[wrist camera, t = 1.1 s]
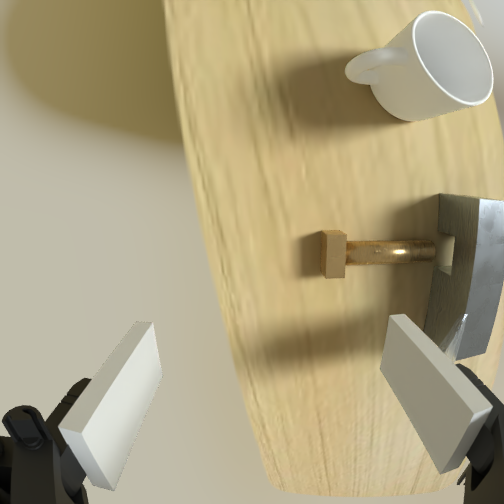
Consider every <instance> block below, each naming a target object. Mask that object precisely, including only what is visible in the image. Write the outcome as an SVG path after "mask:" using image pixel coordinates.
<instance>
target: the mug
mask: <svg viewBox="0 0 504 504" xmlns="http://www.w3.org/2000/svg"><path fill="white" fill-rule="evenodd" d="M368 69H369V70H368ZM345 74H346V76H347V78H348V79H349V80H350V81H352V82H355V83H359V84H367V85H370V86H371V89H372V92H373V94H374V96H375V98H376V99H377V101H378V102H379V103H380V105H381V106H382V107H383V108H384V109H385V110H386V111H388V112H389V113H390V114H392V115H393V116H395V117H397V118H399V119H402V120H405V121H422V120H426V119H429V118H433V117H436V116H440V115H443V114H447V113H450V112H454V111H457V110H461V109H465V108H469V107H472V106H476V105H479V104H482V103H483V102H485V101H486V100H487V99H488V97H489V96H490V94H491V91H492V88H493V71H492V66H491V63H490V60H489V57H488V55H487V53H486V51H485V49H484V47H483V45H482V44H481V42H480V41H479V39H478V38H477V37H476V35H475V34H474V33H473V32H472V31H471V30H470V29H469V28H468V27H467V26H466V25H465V24H463V23H462V22H461V21H459V20H458V19H457V18H455V17H453V16H451V15H449V14H447V13H444V12H440V11H426V12H423V13H421V14H419V15H418V16H417V17H416V18H415V19H414V20H413V21H411V22H410V23H409V24H408V25H407V26H406V27H405V28H404V29H403V30H402V31H401V32H400V33H398V34H397V35H396V36H395V37H394V38H393V39H392V40H391V41H390V42H389V43H388V44H387V45H386V46H385V47H384V48H378V49H374V50H370V51H367V52H364V53H362V54H360V55H358V56H356V57H355V58H353V59H352V60H351V61H350V62H349V63H348V64H347V65H346V67H345Z"/></svg>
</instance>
